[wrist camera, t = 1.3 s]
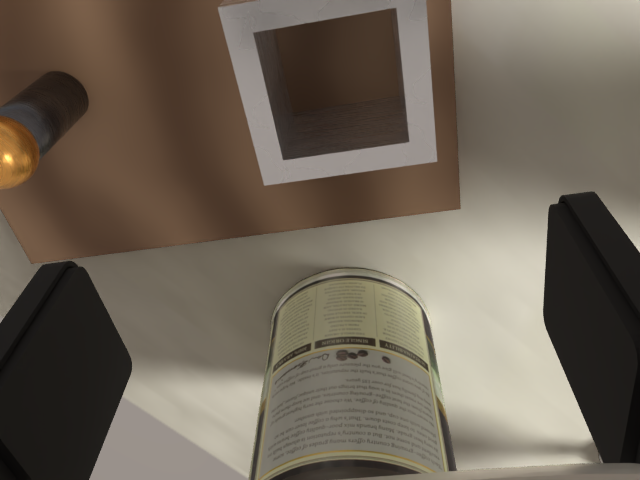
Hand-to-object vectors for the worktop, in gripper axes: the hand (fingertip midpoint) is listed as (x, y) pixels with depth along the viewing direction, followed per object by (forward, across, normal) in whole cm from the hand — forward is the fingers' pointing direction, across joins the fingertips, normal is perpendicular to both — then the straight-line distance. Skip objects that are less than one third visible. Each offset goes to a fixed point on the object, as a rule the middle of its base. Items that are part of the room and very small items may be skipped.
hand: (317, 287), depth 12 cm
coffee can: (+18, +2, +18) cm, 26 cm away
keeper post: (+17, +13, 0) cm, 21 cm away
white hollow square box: (+16, 0, 0) cm, 17 cm away
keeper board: (+18, +7, 0) cm, 19 cm away
